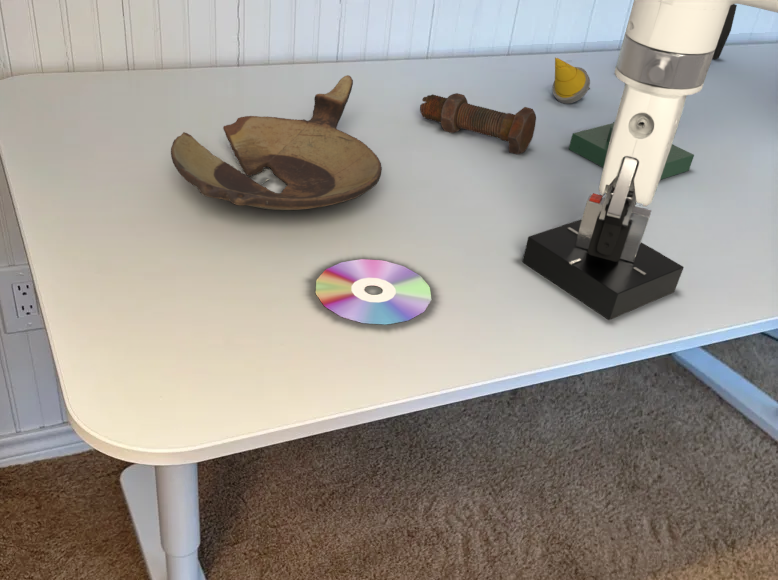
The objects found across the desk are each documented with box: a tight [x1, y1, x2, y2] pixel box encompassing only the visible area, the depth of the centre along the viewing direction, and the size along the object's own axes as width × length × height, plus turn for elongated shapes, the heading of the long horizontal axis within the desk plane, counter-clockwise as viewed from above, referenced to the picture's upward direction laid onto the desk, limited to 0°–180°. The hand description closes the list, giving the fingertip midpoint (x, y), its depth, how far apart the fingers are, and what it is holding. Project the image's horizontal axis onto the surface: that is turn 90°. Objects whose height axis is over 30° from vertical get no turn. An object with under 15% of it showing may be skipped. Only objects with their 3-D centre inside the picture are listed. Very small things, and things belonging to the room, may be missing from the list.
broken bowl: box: [170, 74, 383, 211], centre depth 92 cm, size 22×30×8 cm
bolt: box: [419, 92, 537, 155], centre depth 108 cm, size 6×5×15 cm
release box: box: [568, 121, 695, 181], centre depth 107 cm, size 12×10×4 cm
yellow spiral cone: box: [551, 57, 591, 105], centre depth 119 cm, size 5×5×10 cm
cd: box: [315, 258, 432, 325], centre depth 79 cm, size 11×11×1 cm
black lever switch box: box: [522, 218, 685, 321], centre depth 84 cm, size 12×10×3 cm
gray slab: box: [575, 192, 652, 263], centre depth 81 cm, size 6×2×5 cm, turn 66°
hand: (605, 250), depth 83 cm, fingers closed on gray slab
